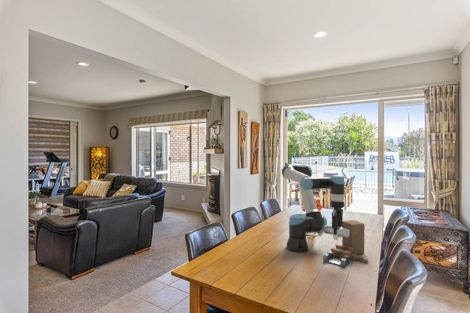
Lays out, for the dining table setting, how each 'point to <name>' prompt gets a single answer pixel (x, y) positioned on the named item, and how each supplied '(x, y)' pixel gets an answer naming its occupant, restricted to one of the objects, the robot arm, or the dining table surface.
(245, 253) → the dining table surface
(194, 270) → the dining table surface
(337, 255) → the wooden clevis bracket
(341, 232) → the axle
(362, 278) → the dining table surface
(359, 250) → the wooden block
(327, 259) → the v block
